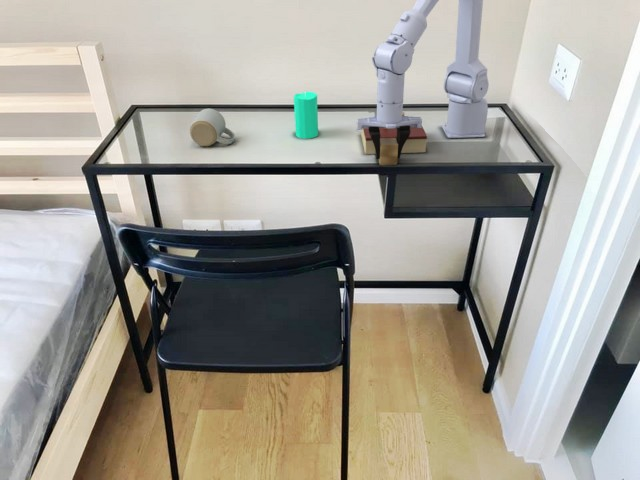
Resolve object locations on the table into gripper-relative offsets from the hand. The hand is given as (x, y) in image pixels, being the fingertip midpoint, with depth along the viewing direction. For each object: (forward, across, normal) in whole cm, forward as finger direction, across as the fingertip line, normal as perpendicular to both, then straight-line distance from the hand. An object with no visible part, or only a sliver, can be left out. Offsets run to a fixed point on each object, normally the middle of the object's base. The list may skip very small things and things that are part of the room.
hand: (387, 157), depth 124 cm
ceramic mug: (+1, -43, +16) cm, 46 cm away
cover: (-3, +3, +10) cm, 11 cm away
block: (+1, 0, 0) cm, 1 cm away
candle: (+1, -19, +18) cm, 27 cm away
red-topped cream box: (+1, +2, +10) cm, 11 cm away
